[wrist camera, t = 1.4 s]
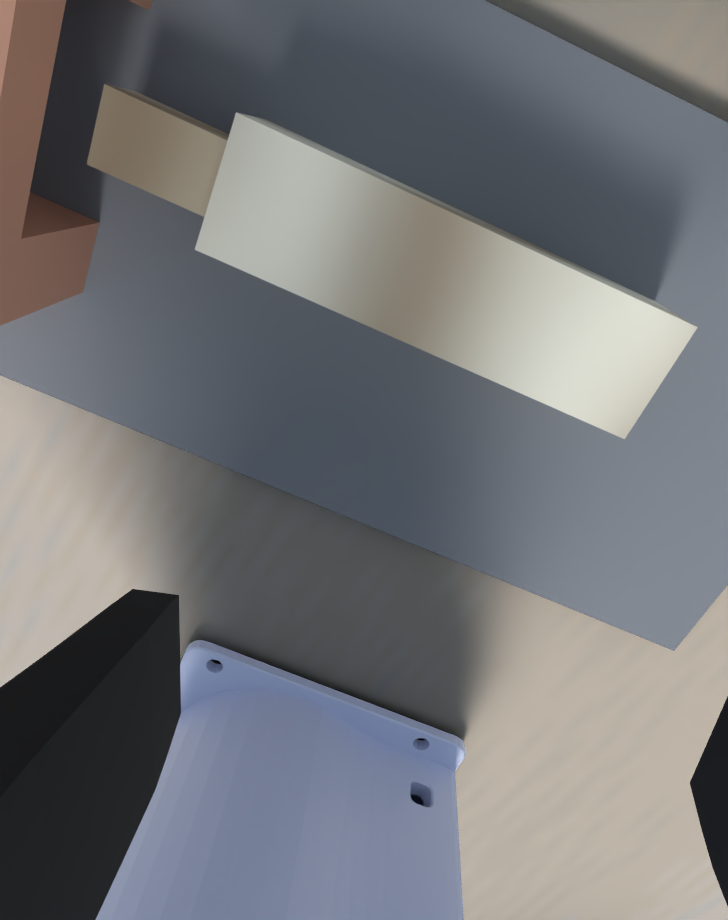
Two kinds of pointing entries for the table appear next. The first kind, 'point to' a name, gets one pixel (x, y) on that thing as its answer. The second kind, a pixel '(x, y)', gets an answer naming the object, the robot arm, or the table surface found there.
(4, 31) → the salmon orange block
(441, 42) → the felt mat
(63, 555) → the table surface
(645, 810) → the table surface
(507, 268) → the cream rectangular block
